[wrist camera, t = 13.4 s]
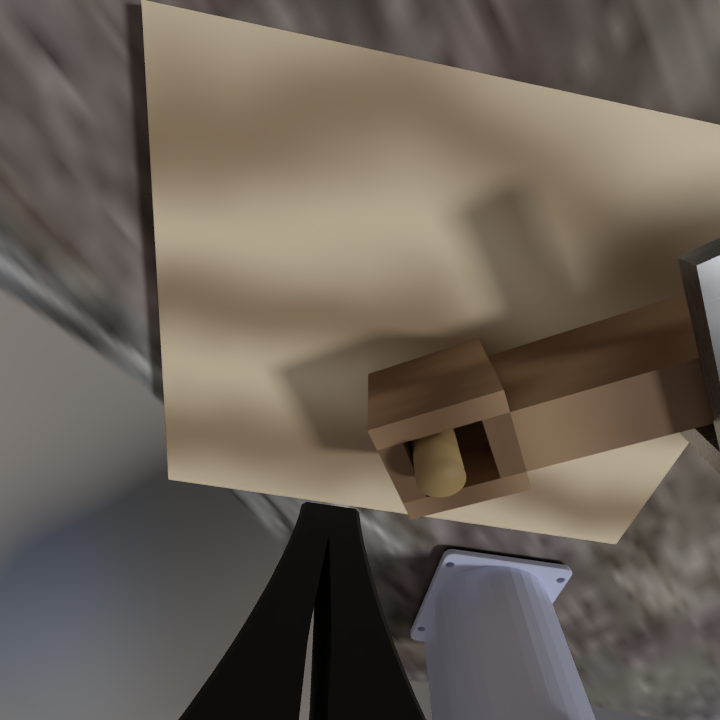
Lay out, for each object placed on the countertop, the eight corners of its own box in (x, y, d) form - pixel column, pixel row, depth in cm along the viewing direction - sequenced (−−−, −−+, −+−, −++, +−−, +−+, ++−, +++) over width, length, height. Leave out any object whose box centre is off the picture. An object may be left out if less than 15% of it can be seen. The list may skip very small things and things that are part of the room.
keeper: (600, 223, 16) (696, 265, 11) (657, 194, 15) (783, 226, 10) (655, 408, 20) (742, 496, 15) (702, 390, 19) (808, 476, 14)
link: (404, 454, 21) (410, 519, 18) (368, 374, 19) (367, 430, 16) (723, 364, 18) (806, 421, 15) (724, 257, 16) (822, 294, 13)
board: (608, 532, 25) (669, 637, 20) (174, 468, 23) (119, 565, 18) (866, 160, 15) (1115, 179, 10) (153, 5, 14) (21, -64, 8)
